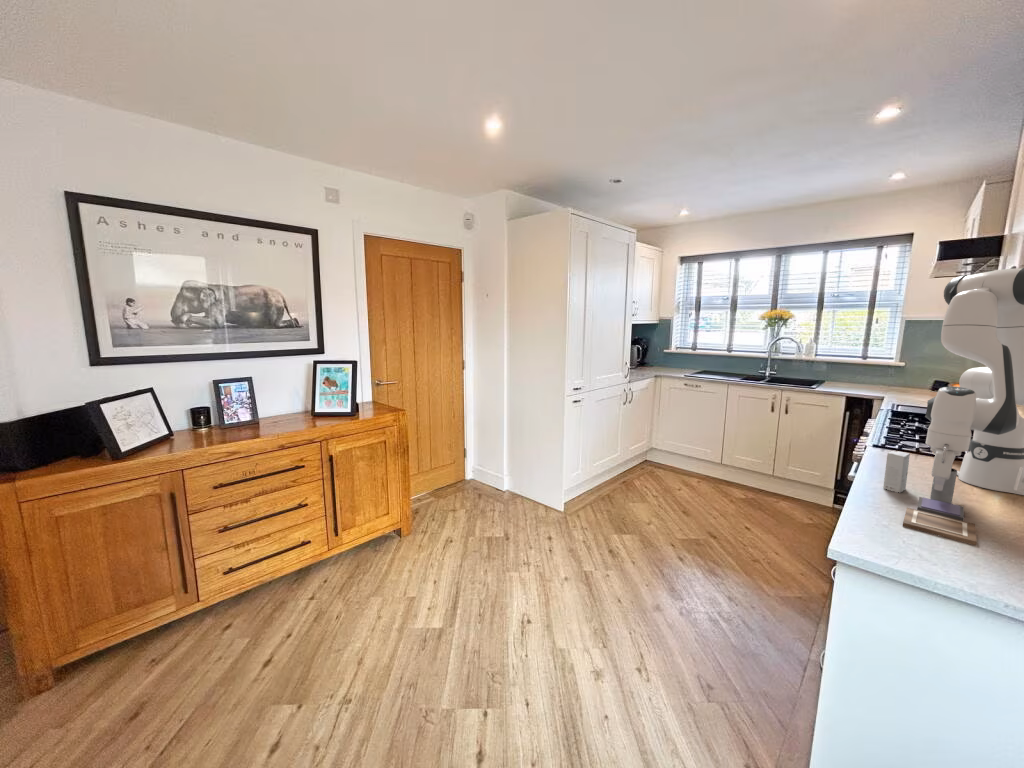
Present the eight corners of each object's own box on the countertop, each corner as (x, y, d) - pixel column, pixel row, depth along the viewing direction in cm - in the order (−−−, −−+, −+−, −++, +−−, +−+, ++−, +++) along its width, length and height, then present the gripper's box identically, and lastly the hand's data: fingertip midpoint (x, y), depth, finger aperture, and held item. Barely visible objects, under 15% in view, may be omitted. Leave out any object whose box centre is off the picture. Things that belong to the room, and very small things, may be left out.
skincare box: (900, 493, 128) (905, 456, 126) (881, 488, 132) (887, 453, 130) (906, 489, 132) (911, 453, 130) (888, 484, 135) (893, 449, 134)
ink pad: (918, 500, 123) (919, 495, 123) (962, 510, 117) (963, 505, 116) (916, 510, 116) (917, 506, 116) (963, 522, 110) (964, 516, 110)
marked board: (906, 510, 117) (907, 506, 116) (974, 527, 107) (975, 523, 107) (902, 526, 108) (903, 521, 108) (976, 545, 98) (976, 541, 98)
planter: (929, 500, 123) (934, 468, 122) (930, 496, 126) (936, 464, 124) (951, 505, 120) (956, 472, 118) (952, 501, 123) (957, 468, 121)
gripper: (962, 451, 111) (952, 498, 114) (963, 438, 125) (955, 480, 127) (929, 445, 116) (921, 491, 118) (934, 433, 129) (926, 474, 132)
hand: (939, 485), depth 123 cm, fingers open, 8 cm apart
